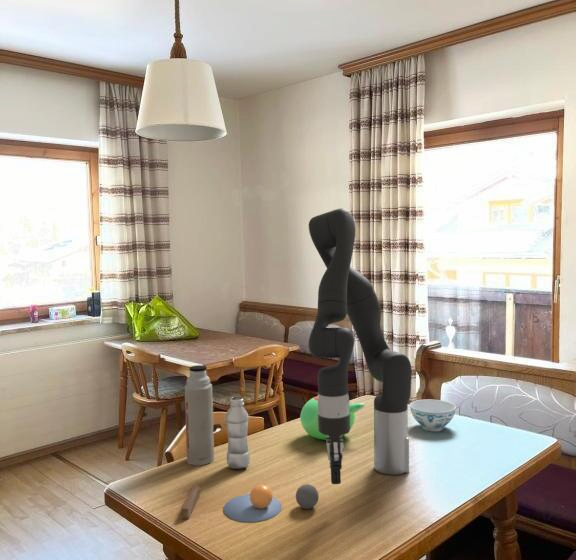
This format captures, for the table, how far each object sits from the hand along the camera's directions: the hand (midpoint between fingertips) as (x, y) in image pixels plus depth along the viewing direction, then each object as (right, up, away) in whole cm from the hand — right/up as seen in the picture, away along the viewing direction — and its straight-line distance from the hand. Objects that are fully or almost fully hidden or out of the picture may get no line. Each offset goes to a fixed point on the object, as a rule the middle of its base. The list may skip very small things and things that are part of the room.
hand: (335, 482), depth 135 cm
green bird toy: (+2, -3, +49) cm, 49 cm away
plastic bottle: (-26, -5, +26) cm, 37 cm away
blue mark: (-20, -7, +2) cm, 21 cm away
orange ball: (-18, -4, +2) cm, 18 cm away
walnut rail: (-35, -7, +3) cm, 36 cm away
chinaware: (+37, -2, +57) cm, 68 cm away
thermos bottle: (-37, -5, +32) cm, 49 cm away
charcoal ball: (-7, -4, +2) cm, 8 cm away
